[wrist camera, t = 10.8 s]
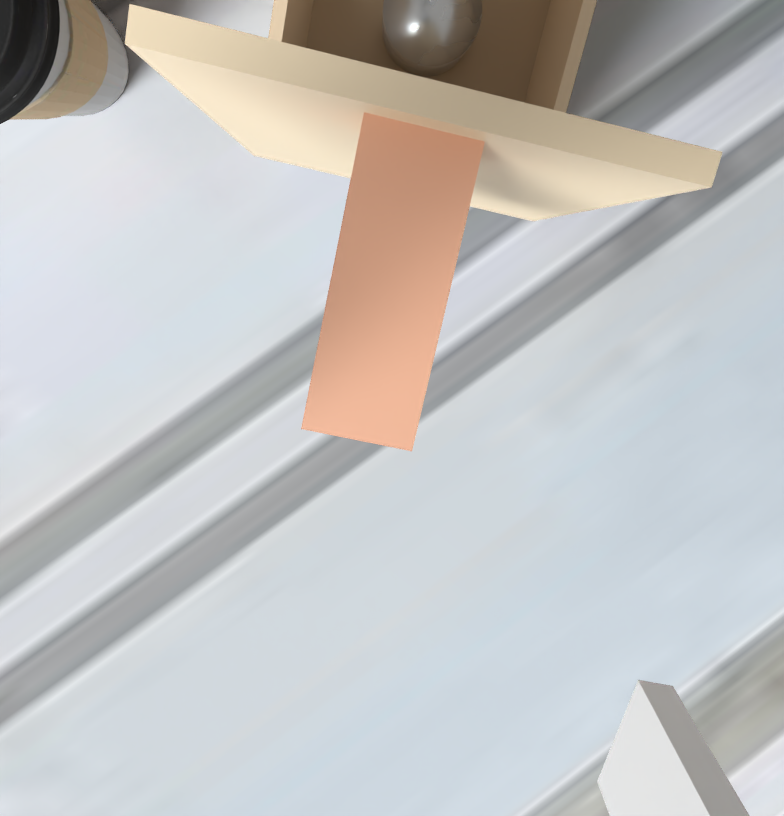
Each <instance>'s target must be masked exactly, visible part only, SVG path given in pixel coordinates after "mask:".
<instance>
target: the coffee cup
mask: <svg viewBox="0 0 784 816" xmlns="http://www.w3.org/2000/svg"><path fill="white" fill-rule="evenodd" d="M128 72H129V68H128V58H127V54H126V50H125V47H124V45H123V42H122V40H121V37H120V36H119V34H118V32H117V31H116V29H115V27H114V26H113V25H112V23H111V22H110V21H109V20H108V19H107V17H106V16H105V15H104V14H103V13H102V12H101V11H100V10H99V9H98V8H97V7H96V6H95V5H94V4H93V3H92V2H91V1H90V0H0V124H1V123H3V122H5V121H7V120H9V119H50V118H57V117H61V116H84V115H90V114H95V113H97V112H100V111H103V110H104V109H106V108H107V107H109V106H111V105H112V104H113V103H114V102H115V101H116V100H117V99H118V98H119V97H120V95H121V94H122V92H123V91H124V88H125V86H126V83H127V80H128Z"/></svg>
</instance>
